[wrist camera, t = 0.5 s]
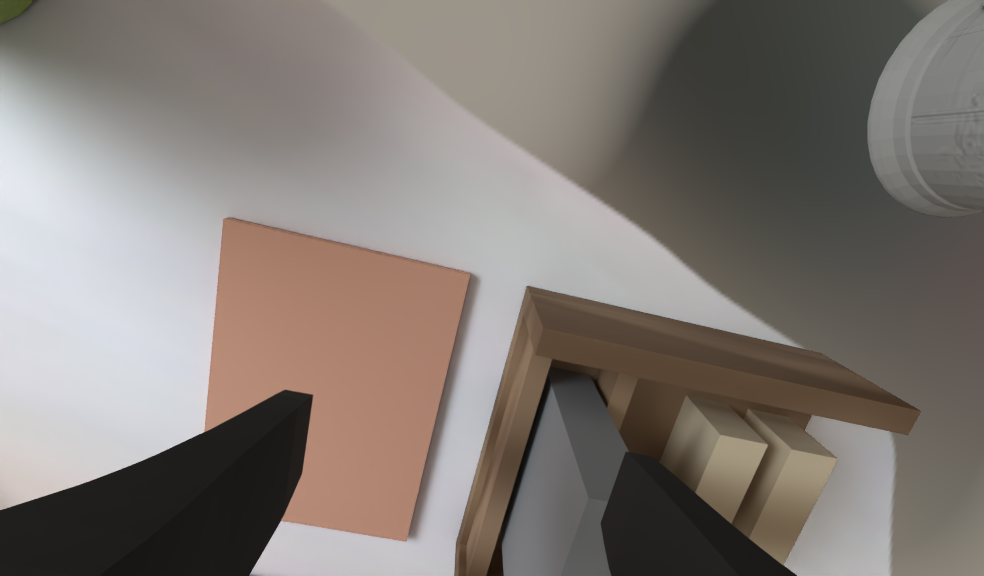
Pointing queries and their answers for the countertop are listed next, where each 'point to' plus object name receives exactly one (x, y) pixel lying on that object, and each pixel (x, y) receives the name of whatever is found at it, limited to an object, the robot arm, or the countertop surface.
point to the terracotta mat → (337, 364)
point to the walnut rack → (646, 393)
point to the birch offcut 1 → (713, 453)
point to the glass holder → (933, 114)
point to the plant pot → (12, 8)
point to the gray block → (563, 483)
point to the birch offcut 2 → (782, 484)
